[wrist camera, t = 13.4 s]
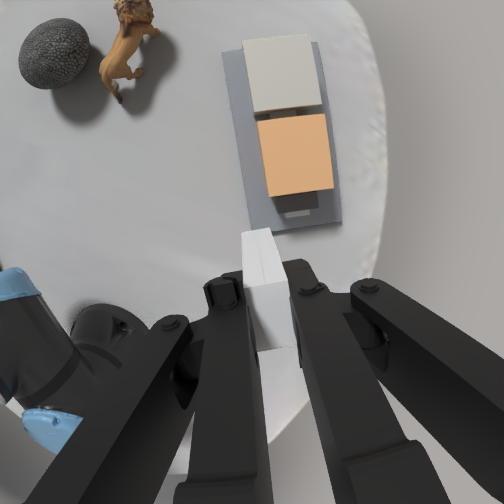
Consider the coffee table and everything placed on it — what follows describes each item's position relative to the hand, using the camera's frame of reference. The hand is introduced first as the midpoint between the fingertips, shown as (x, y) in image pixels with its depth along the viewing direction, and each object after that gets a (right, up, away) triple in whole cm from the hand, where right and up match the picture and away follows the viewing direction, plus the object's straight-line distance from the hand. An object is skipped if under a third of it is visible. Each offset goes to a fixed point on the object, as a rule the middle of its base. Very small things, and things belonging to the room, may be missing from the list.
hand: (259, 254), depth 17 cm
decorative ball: (-26, +27, +16) cm, 41 cm away
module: (+4, +13, +21) cm, 25 cm away
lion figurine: (-16, +27, +17) cm, 35 cm away
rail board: (+4, +15, +21) cm, 26 cm away
